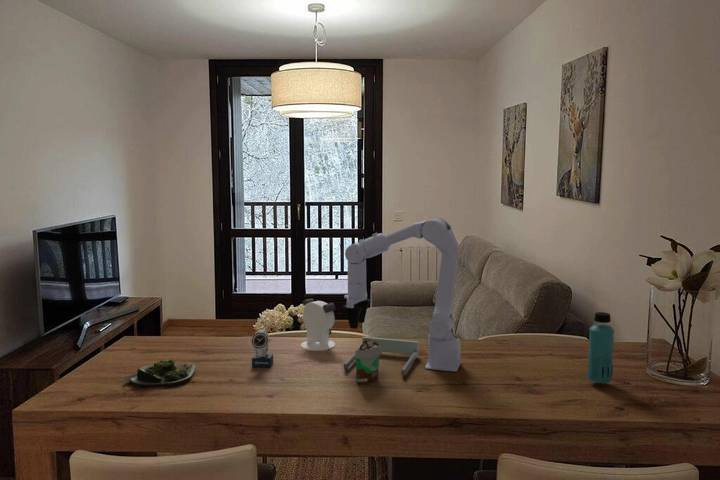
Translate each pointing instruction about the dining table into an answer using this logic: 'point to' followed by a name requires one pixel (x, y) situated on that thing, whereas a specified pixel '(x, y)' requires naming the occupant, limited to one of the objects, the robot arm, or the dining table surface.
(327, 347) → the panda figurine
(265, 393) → the dining table surface
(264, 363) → the watch
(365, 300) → the robot arm
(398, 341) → the grey u-shaped frame
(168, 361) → the salad plate
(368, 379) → the food container
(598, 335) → the beverage bottle
